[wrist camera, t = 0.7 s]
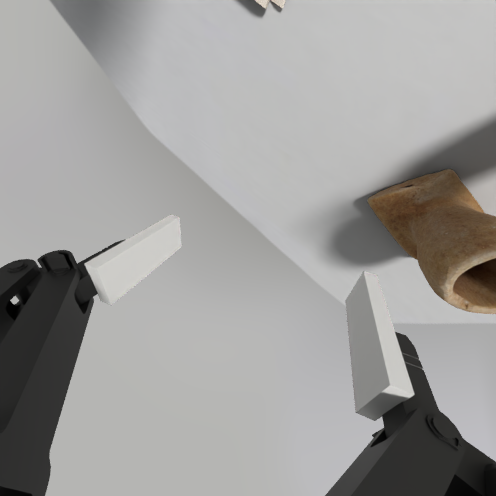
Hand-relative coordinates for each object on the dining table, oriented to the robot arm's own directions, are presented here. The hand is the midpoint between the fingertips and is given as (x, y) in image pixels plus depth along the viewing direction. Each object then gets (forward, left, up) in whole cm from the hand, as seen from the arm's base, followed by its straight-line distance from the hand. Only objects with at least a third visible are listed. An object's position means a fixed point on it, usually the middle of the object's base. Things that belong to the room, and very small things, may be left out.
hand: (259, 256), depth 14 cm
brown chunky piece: (-9, +16, -25) cm, 32 cm away
